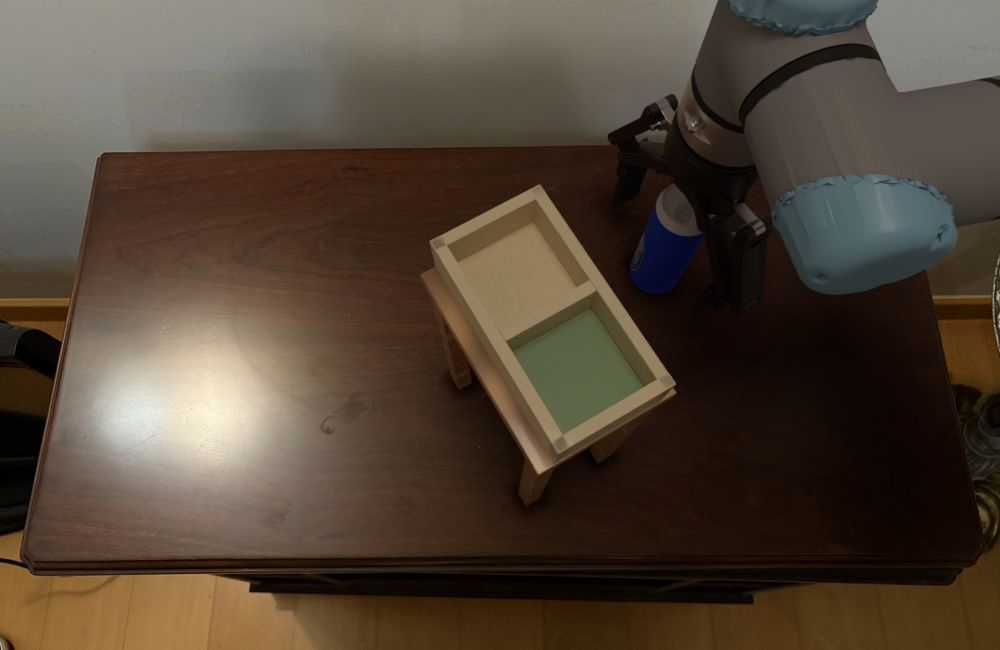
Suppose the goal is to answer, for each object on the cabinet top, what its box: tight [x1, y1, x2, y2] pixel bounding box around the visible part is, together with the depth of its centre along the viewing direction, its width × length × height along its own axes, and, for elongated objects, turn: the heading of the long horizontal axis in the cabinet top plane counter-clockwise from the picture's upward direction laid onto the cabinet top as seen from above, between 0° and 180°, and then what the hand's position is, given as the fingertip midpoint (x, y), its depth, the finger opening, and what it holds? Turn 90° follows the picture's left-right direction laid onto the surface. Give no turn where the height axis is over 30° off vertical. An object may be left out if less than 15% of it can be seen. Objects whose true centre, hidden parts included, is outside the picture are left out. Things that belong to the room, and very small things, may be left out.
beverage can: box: [628, 182, 715, 295], centre depth 67 cm, size 5×5×15 cm
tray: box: [429, 184, 677, 464], centre depth 43 cm, size 15×8×4 cm, turn 30°
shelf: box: [419, 266, 677, 507], centre depth 57 cm, size 15×10×26 cm, turn 30°
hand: (662, 251), depth 70 cm, fingers open, 13 cm apart
